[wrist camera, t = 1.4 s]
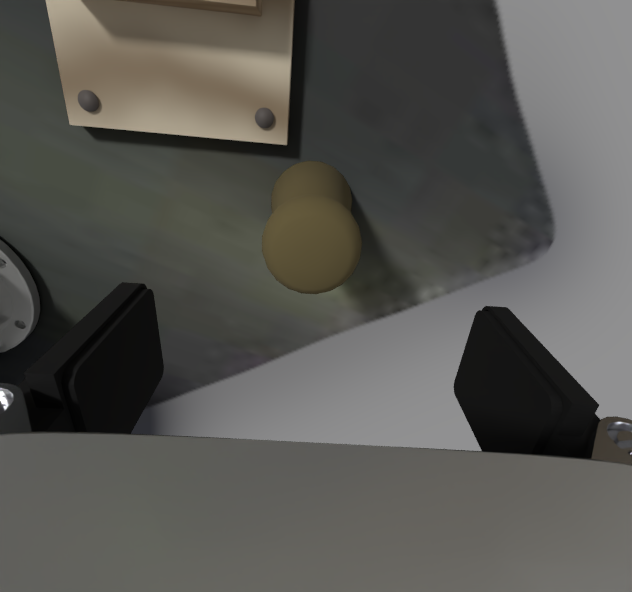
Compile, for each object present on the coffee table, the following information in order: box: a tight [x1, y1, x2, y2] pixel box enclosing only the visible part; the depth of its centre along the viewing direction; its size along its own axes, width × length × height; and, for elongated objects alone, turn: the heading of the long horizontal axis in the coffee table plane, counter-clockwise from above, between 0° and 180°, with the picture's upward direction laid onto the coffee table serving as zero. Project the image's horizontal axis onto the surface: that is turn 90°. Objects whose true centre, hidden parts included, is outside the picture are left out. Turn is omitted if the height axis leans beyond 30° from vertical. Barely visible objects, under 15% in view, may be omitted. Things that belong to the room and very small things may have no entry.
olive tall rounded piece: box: [262, 161, 362, 294], centre depth 23 cm, size 6×6×11 cm
